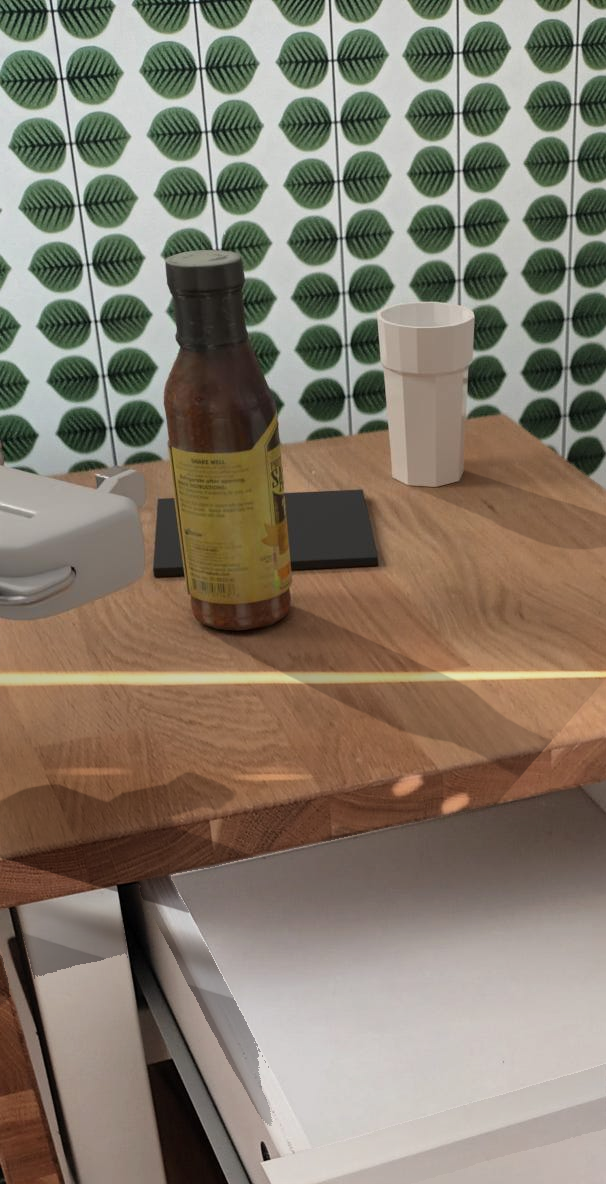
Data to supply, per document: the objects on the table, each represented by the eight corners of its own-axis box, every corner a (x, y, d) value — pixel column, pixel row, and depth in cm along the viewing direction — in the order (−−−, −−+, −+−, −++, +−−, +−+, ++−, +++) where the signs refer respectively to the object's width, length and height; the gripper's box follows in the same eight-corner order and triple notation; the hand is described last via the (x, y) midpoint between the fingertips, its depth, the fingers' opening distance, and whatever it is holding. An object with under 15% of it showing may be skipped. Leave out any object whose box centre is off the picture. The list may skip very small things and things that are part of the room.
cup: (374, 462, 114) (368, 304, 107) (462, 455, 115) (461, 299, 109) (391, 494, 109) (386, 330, 102) (483, 486, 110) (484, 324, 103)
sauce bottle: (309, 624, 92) (285, 265, 80) (207, 644, 89) (167, 278, 78) (272, 583, 96) (244, 239, 85) (173, 601, 94) (131, 250, 82)
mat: (154, 577, 97) (152, 568, 97) (158, 506, 106) (157, 498, 106) (378, 565, 99) (378, 556, 98) (363, 497, 108) (362, 489, 108)
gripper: (-4, 538, 61) (220, 439, 71) (-334, 445, 70) (-95, 368, 79) (23, 683, 65) (232, 570, 74) (-293, 578, 73) (-69, 489, 83)
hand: (61, 465), depth 77 cm, fingers open, 8 cm apart
